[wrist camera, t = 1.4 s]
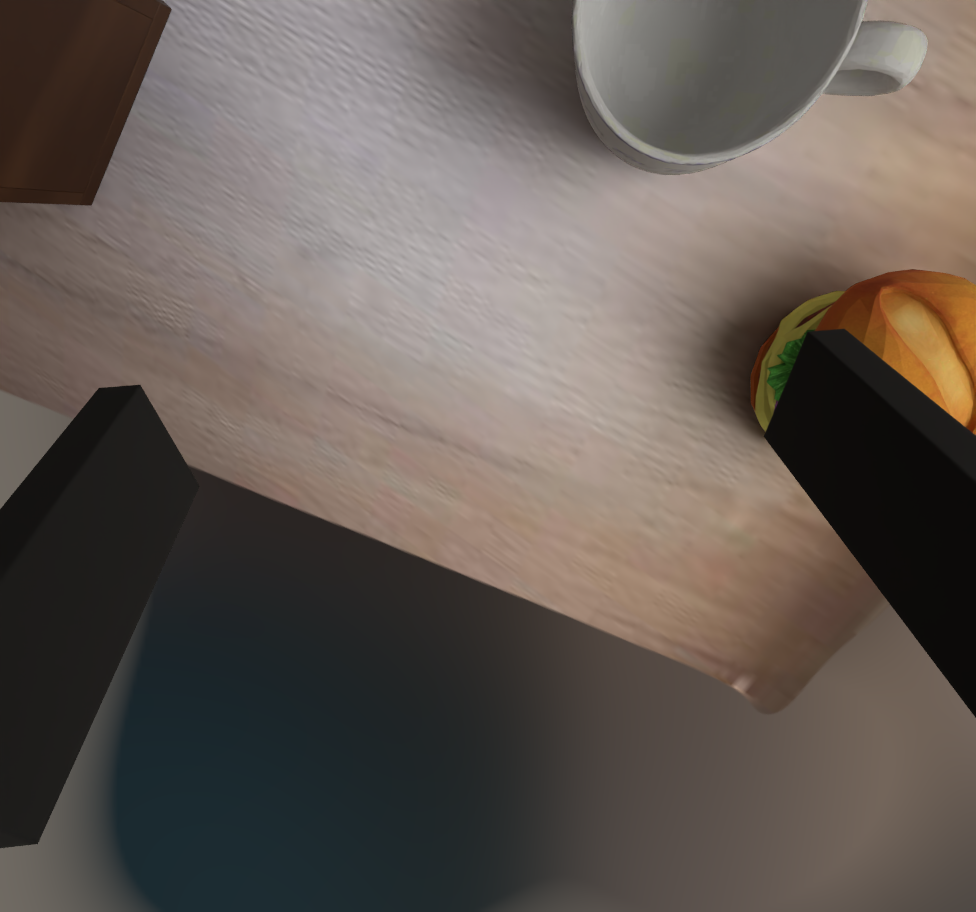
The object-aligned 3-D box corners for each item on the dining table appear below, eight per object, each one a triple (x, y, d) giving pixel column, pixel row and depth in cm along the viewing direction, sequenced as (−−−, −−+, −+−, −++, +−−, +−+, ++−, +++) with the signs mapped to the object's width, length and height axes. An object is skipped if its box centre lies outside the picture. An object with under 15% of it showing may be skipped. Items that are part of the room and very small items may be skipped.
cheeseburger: (699, 416, 34) (774, 440, 24) (785, 257, 31) (907, 211, 22) (838, 480, 34) (970, 531, 24) (933, 327, 32) (1119, 313, 22)
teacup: (536, 128, 28) (525, 95, 21) (638, -127, 24) (670, -280, 17) (760, 239, 29) (824, 243, 22) (901, 11, 25) (1042, -78, 17)
